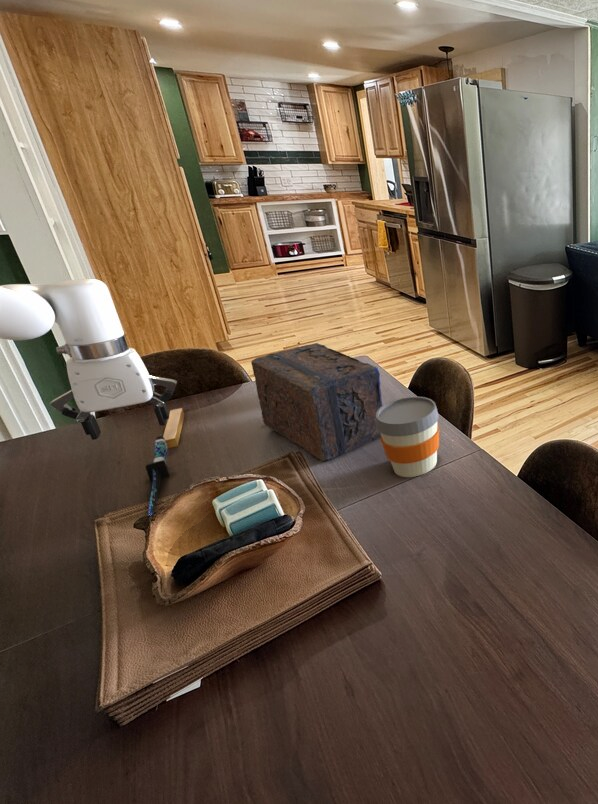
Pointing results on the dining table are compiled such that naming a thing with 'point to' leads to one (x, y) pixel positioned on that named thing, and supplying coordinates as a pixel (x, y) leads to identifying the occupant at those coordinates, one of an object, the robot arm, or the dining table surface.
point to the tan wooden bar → (174, 427)
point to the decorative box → (319, 398)
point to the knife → (157, 471)
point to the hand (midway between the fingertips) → (131, 429)
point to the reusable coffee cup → (409, 434)
